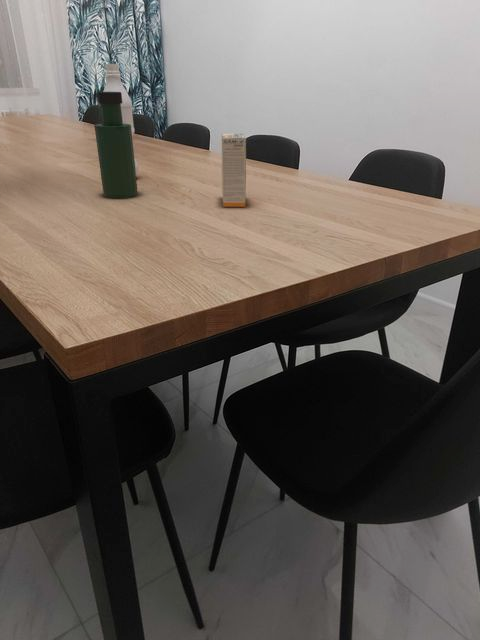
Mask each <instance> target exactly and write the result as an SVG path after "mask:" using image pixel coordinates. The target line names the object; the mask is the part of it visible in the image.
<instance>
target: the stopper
mask: <svg viewBox="0 0 480 640" xmlns="http://www.w3.org/2000/svg"><path fill="white" fill-rule="evenodd" d="M96 94H97V101H98V104H99V105H100V104H122V94H121V92H103V91H97V93H96Z"/></svg>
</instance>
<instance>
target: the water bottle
mask: <svg viewBox="0 0 480 640" xmlns="http://www.w3.org/2000/svg"><path fill="white" fill-rule="evenodd" d="M104 65H105V66H104V67H105V74H104V76H105V79H106V80H105V85H104V89H103V91H102V92H121V94H122V104H121V111H122V121H123V124H130V125H131V131H132V141H134V135H135V125H134V115H133V104H132V100H131V97H130V95H129V94H128V91H127V90H126V88H125V86H124V85H123V82H122V79H121V77H122V74H121V72H120V65H119V63H104ZM134 160H135V170H136V178H137V176H138V174H139V164H138V162H137V160H136V157H135V156H134Z"/></svg>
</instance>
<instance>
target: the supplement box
mask: <svg viewBox="0 0 480 640" xmlns="http://www.w3.org/2000/svg"><path fill="white" fill-rule="evenodd" d="M221 187H222V189H221V191H222V194H221V195H222V206H223V207H225V208H226V207H227V208H235V207H236V208H240V207H242V208H245V207H246V203H247V201H246V200H247V199H246V198H247V197H246V193H247V192H246V189H247V139H246V135H245V134H244V133H221Z"/></svg>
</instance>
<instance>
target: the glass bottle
mask: <svg viewBox="0 0 480 640" xmlns="http://www.w3.org/2000/svg"><path fill="white" fill-rule="evenodd" d="M99 110H100V117H101V118H100V119H101V123H96V124H94V133H95V141H96V148H97V156H98V163H99V170H100V178H101V185H102V192H103V197H105V198H108V199H118V200H119V199H130V198H134V197H137V196H138V195H139V193H138V192H139V191H138V182H137V181H138V180H137V177H136V170H135V160H134V157H135V152H134V143H133V141H134V140H133V141H132V131H131V125H130V124H123V121H122V111H121V104H100V103H99Z"/></svg>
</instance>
